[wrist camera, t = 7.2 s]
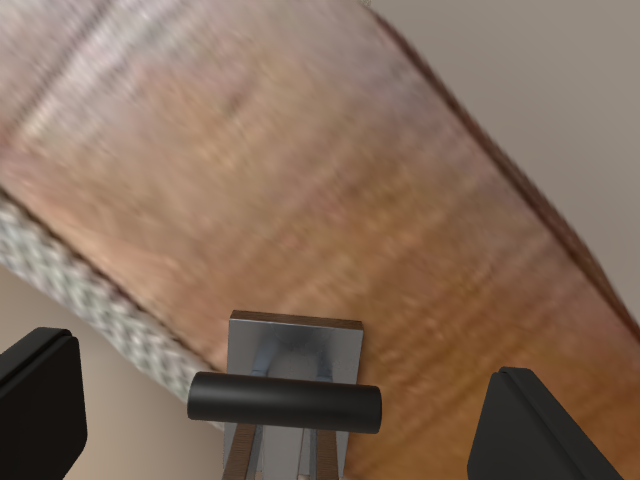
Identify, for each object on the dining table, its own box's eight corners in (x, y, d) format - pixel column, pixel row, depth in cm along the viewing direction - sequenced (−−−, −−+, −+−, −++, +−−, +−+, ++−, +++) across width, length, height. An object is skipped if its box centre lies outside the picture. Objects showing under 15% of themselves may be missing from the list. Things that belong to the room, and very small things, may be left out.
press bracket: (233, 309, 24) (158, 468, 13) (361, 321, 24) (400, 486, 13) (226, 454, 27) (161, 688, 16) (341, 463, 27) (358, 699, 16)
